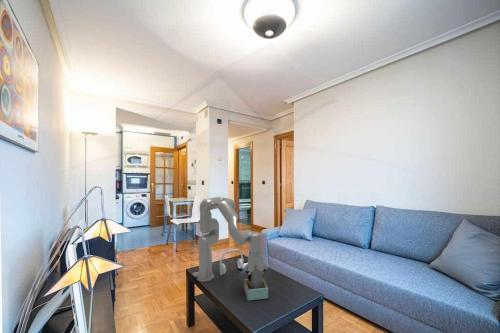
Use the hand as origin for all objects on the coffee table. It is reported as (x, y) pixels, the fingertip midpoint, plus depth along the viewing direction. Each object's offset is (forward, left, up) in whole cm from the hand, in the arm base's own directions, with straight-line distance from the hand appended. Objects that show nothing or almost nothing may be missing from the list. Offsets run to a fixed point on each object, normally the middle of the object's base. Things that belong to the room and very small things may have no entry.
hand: (255, 279), depth 139 cm
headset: (-13, +33, -9) cm, 36 cm away
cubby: (0, 0, -9) cm, 9 cm away
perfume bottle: (0, 0, -6) cm, 6 cm away
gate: (0, -6, -9) cm, 11 cm away
